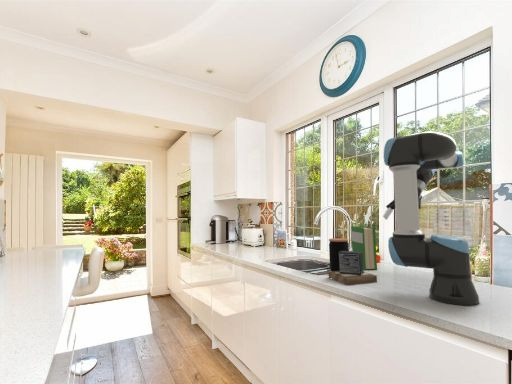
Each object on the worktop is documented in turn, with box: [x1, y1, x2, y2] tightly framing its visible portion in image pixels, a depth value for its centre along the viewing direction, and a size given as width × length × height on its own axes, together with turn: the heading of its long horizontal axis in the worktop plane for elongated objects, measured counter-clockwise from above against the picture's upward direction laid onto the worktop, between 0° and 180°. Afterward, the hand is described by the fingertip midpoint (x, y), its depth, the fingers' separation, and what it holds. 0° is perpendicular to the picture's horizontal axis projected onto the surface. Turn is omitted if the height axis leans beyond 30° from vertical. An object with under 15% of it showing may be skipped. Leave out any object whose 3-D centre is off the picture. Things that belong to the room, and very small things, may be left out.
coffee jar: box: [328, 237, 350, 272], centre depth 157 cm, size 11×11×18 cm
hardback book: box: [350, 225, 378, 272], centre depth 167 cm, size 18×7×24 cm, turn 1°
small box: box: [338, 250, 365, 275], centre depth 137 cm, size 11×6×10 cm, turn 57°
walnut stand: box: [328, 271, 378, 286], centre depth 137 cm, size 16×16×3 cm
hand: (394, 218), depth 145 cm, fingers open, 13 cm apart
